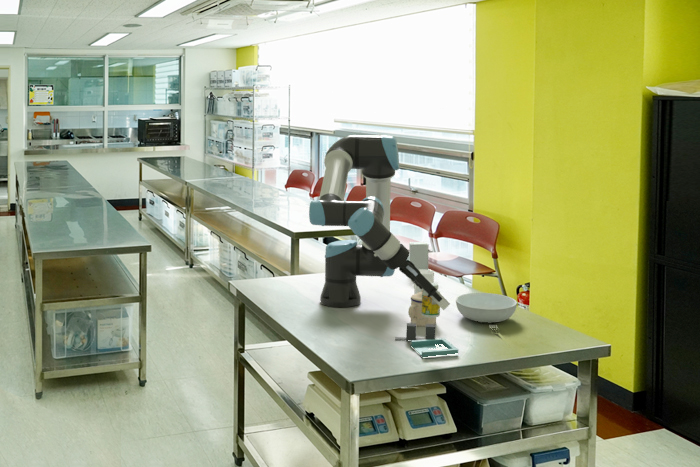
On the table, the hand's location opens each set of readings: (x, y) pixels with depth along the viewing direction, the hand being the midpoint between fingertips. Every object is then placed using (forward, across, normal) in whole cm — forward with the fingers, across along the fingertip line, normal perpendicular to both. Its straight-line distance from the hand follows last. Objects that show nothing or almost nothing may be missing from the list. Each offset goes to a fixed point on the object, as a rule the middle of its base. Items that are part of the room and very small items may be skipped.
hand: (442, 303), depth 213 cm
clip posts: (+8, -11, -12) cm, 18 cm away
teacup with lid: (+13, -28, -8) cm, 32 cm away
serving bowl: (+29, -28, +9) cm, 42 cm away
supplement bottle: (0, 0, -5) cm, 5 cm away
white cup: (+21, -61, +1) cm, 65 cm away
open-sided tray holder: (+9, 0, -12) cm, 15 cm away
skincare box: (+28, -95, +8) cm, 99 cm away
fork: (+27, -7, +6) cm, 29 cm away
